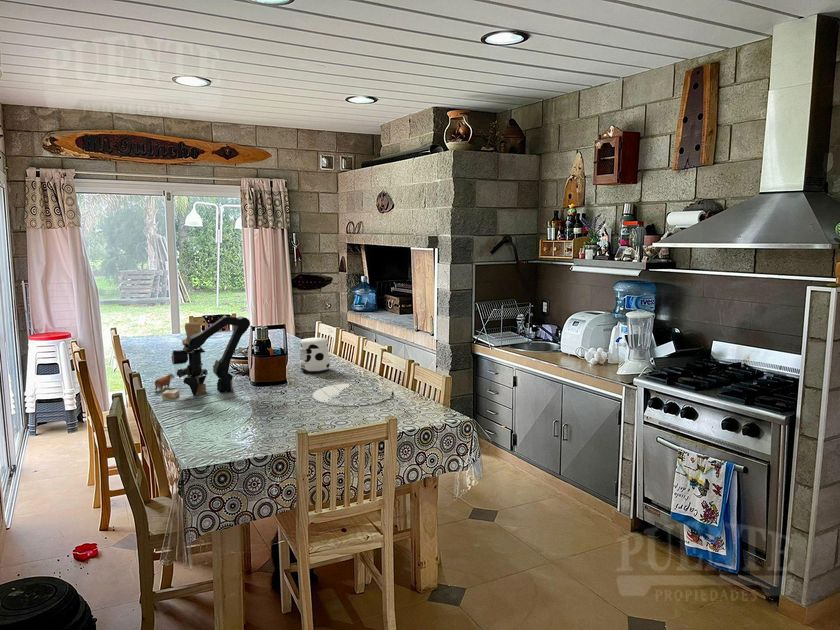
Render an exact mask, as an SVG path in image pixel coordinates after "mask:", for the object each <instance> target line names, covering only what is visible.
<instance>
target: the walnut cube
mask: <svg viewBox="0 0 840 630" xmlns="http://www.w3.org/2000/svg"><path fill="white" fill-rule="evenodd" d="M206 384H207V383H205V382H204V383H203V384H199V386H198V389H197V392H196V395H197V396H198V395H203V394H204V395H205V394H207V386H206ZM196 395H195V396H196Z"/></svg>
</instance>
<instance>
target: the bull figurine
mask: <svg viewBox="0 0 840 630" xmlns="http://www.w3.org/2000/svg"><path fill="white" fill-rule="evenodd" d="M175 378H176V376H175V375H174V374H173V373H172V372H169V373H167V374H165V375H164V376H162V377H160V378H157V379H155V381H154V387H155V388H154V390H155V392H158V389H159V392H161V391H162V392H164V389H163V388H167V389H169V388H170V387H169V386H170V383H171V381H172V380H173V379H175Z"/></svg>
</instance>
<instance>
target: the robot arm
mask: <svg viewBox="0 0 840 630" xmlns="http://www.w3.org/2000/svg"><path fill="white" fill-rule="evenodd" d="M227 325H229V326H233V331H232V334H231V337H230V339H229V340H228V343H227V345H226V347H225V349H224V352H223V354H222V356H221V358H220V359H219V360H217V359H216V360H215V361H214V365H213V366H212V373H213V374H214V375H215V376H216V377H217V378H218V379H217V382H216V389H217V391H218V393H231V392H233V390H234V387H233V377H234V376H233V375H232V374H231V373H229V370H230V364H231V360H232V358H233V355H234V353H235V351H236V349H237V347H238V345H239V343H240V340H241V339H242V337H243V335H244V334H245V333H246V332H247V330H248V329H249V327H250V326H251V322H250V319H249V318H247V317H244V316H236V317H235V316H227V315H222V316H221V317H220V318H219V319H218V320H216V321H215V322H214V323H212V324H210V325H209V326H208V327H206V328H205V329H204V330H202V331H200V333H197V334H194V335H192V336H190V337H189V338H188V339H187V343H186V344H184V347H183V348H182V349H176V350H172V353H171V363H172V365H174V366H175V365H181V364H182V365H183V364H184V365H185V364H186V363H188V364H187V366H186V367H185V368H178V369H177V371H176V376H177V377H179V379H180V378H182V377H184V378H183V384H185V385H188V387H189V388H190V391H191V393H192V394H191V395H192V396H196V392H197V389H198V386H199V384H205V381H206V379H207V376H208V374H209V373H208V370H207V369H206V368H202V367H203V366H204V364H203V362H202V353H206V351H205V349H203V348H202V346H203V345H204V344H205V343H206V341H207V340H208V339H209V338H210V337H212V336H213V335H215V334H216V333H217V332H219V331H221V330H222V329H223V328H224V327H226V326H227ZM185 376H186V377H185Z"/></svg>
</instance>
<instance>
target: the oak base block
mask: <svg viewBox="0 0 840 630" xmlns="http://www.w3.org/2000/svg"><path fill="white" fill-rule="evenodd" d="M180 395H181V394H180V389H166V390H165V391H162V393H161V397H162V398H161V399H162V400H164V399H176V398H178V397H179V396H180Z"/></svg>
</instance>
